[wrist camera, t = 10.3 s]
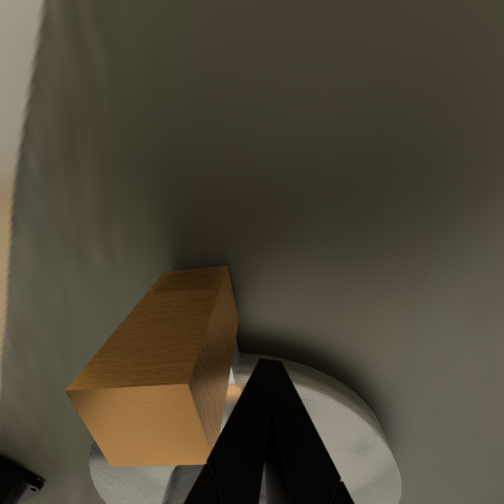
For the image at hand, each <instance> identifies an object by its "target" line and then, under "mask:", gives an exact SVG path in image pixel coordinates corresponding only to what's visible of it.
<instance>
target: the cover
mask: <svg viewBox="0 0 504 504" xmlns="http://www.w3.org/2000/svg"><path fill="white" fill-rule="evenodd" d="M203 466H204V465H177V466H176V467H175V468H174V470H173V471H172V472H171V475H170V477H169V480H168V484H167V487H166V490H165V494H164V497H163V501H162V504H183V503H184V501H185V499H186V497H187V495H188V494H189V492H190V490H191V488H192V486H193V484H194V483H195V481H196V479H197V477H198V475H199V473H200V471H201V469H202V467H203ZM259 504H267V500H266V482H265V465H264V470H263V477H262V485H261V492H260V499H259Z"/></svg>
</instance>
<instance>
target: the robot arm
mask: <svg viewBox="0 0 504 504" xmlns="http://www.w3.org/2000/svg"><path fill="white" fill-rule="evenodd" d="M264 465H265V482H266V500H267V504H355V503H354V501H353V499H352V497H351V495H350V493H349V492H348V490H347V488H346V486H345V484H344V482H343V481H341V476H340V474H339V472H338V470H337V468H336V466H335V464H334V462H333V460H332V459H331V457H330V455H329V453H328V451H327V449H326V447H325V445H324V443H323V441H322V439H321V437H320V435H319V433H318V431H317V429H316V427H315V425H314V423H313V421H312V419H311V417H310V415H309V414H308V412H307V410H306V408H305V406H304V404H303V402H302V400H301V398H300V396H299V394H298V392H297V390H296V388H295V386H294V384H293V382H292V380H291V378H290V376H289V374H288V372H287V370H286V369H285V367H284V365H283V363H282V361H281V360H277V359H267V358H260V359H259V360H258V362H257V364H256V366H255V368H254V370H253V372H252V374H251V376H250V377H249V379H248V381H247V383H246V385H245V387H244V389H243V391H242V393H241V395H240V397H239V399H238V401H237V402H236V404H235V406H234V408H233V410H232V412H231V414H230V416H229V418H228V420H227V422H226V424H225V426H224V427H223V429H222V431H221V433H220V435H219V437H218V439H217V441H216V443H215V445H214V447H213V449H212V451H211V452H210V454H209V456H208V458H207V460H206V464H204V466H203V467H202V469H201V471H200V473H199V475H198V477H197V479H196V481H195V483H194V484H193V486H192V488H191V490H190V492H189V494H188V495H187V497H186V499H185V501H184V503H183V504H259V499H260V492H261V485H262V477H263V470H264ZM43 486H44V484H43V483H42V482H41V481H39V480H37V479H35V478H33V477H32V476H30V475H28V474H26V473H24V472H22V471H20V470H19V469H17V468H15V467H13V466H11V465H9V464H7V463H6V462H4V461H2V460H0V504H20V503H22V502H24V501H25V500H27V499H29V498H30V497H32V496H34V495H35V494H37V493H39V492H40V490H41V489H42V487H43Z"/></svg>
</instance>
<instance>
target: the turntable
mask: <svg viewBox="0 0 504 504" xmlns="http://www.w3.org/2000/svg"><path fill="white" fill-rule="evenodd" d="M238 322H239V318H238V313H237V309H236V304H235V299H234V294H233V289H232V284H231V279H230V274H229V269H228V266H218V267H209V268H200V269H191V270H181V271H172V272H164V273H163V274H162V275H161V276H160V278H159V279H158V280H157V281H156V282H155V284H154V285H153V286H152V287H151V288H150V290H149V291H148V292H147V293H146V294H145V296H144V297H143V298H142V299H141V300H140V302H139V303H138V304H137V305H136V306H135V308H134V309H133V310H132V311H131V312H130V314H129V315H128V316H127V317H126V318H125V319H124V321H123V322H122V323H121V324H120V325H119V327H118V328H117V329H116V330H115V331H114V333H113V334H112V335H111V336H110V337H109V339H108V340H107V341H106V342H105V343H104V345H103V346H102V347H101V348H100V349H99V351H98V352H97V353H96V354H95V355H94V357H93V358H92V359H91V360H90V361H89V362H88V364H87V365H86V366H85V367H84V368H83V370H82V371H81V372H80V373H79V374H78V376H77V377H76V378H75V379H74V380H73V382H72V383H71V384H70V385H69V386H68V388H67V389H66V390H65V392H66V394H67V395H68V397H69V399H70V400H71V402H72V403H73V405H74V407H75V408H76V410H77V412H78V413H79V415H80V417H81V418H82V420H83V421H84V423H85V425H86V426H87V428H88V430H89V431H90V433H91V435H92V436H93V438H94V442H93V445H92V448H91V451H90V458H89V467H90V475H91V477H92V480H93V483H94V486H95V487H96V489H97V491H98V493H99V494H100V496H101V497H102V499H103V500H104V501H105V502H106V504H162V501H163V497H164V494H165V490H166V487H167V484H168V480H169V477H170V475H171V472H172V471H173V470H174V468H175V467H176V466H177V465H204V464H206V460H207V458H208V456H209V454H210V452H211V451H212V449H213V447H214V445H215V443H216V441H217V439H218V437H219V435H220V433H221V431H222V429H223V427H224V426H225V424H226V422H227V420H228V418H229V416H230V414H231V412H232V410H233V408H234V406H235V404H236V402H237V401H238V399H239V397H240V395H241V393H242V391H243V389H244V387H245V385H246V383H247V381H248V379H249V377H250V376H251V374H252V372H253V370H254V368H255V366H256V364H257V362H258V360H259V359H260V358H267V359H277V360H281V361H282V363H283V365H284V367H285V369H286V370H287V372H288V374H289V376H290V378H291V380H292V382H293V384H294V386H295V388H296V390H297V392H298V394H299V396H300V398H301V400H302V402H303V404H304V406H305V408H306V410H307V412H308V414H309V415H310V417H311V419H312V421H313V423H314V425H315V427H316V429H317V431H318V433H319V435H320V437H321V439H322V441H323V443H324V445H325V447H326V449H327V451H328V453H329V455H330V457H331V459H332V460H333V462H334V464H335V466H336V468H337V470H338V472H339V474H340V476H341V481H343V482H344V484H345V486H346V488H347V490H348V492H349V493H350V495H351V497H352V499H353V501H354V503H355V504H399V501H400V497H401V487H402V482H401V477H400V473H399V469H398V466H397V464H396V461H395V459H394V457H393V454H392V452H391V449H390V447H389V444H388V442H387V440H386V437H385V435H384V432H383V430H382V428H381V426H380V423H379V421H378V419H377V417H376V416H375V414H374V413H373V411H372V410H371V409H370V407H369V406H368V405H367V404H366V403H365V402H364V401H363V400H362V399H361V398H360V397H359V396H358V395H357V394H356V393H355V392H354V391H352V390H351V389H350V388H348V387H347V386H346V385H344V384H343V383H341V382H340V381H338V380H336V379H334V378H333V377H331V376H329V375H327V374H325V373H323V372H321V371H318V370H316V369H314V368H311V367H309V366H306V365H304V364H300V363H297V362H293V361H290V360H286V359H283V358H277V357H272V356H266V355H260V354H248V353H239V349H238V345H237V340H236V334H237V328H238Z"/></svg>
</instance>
